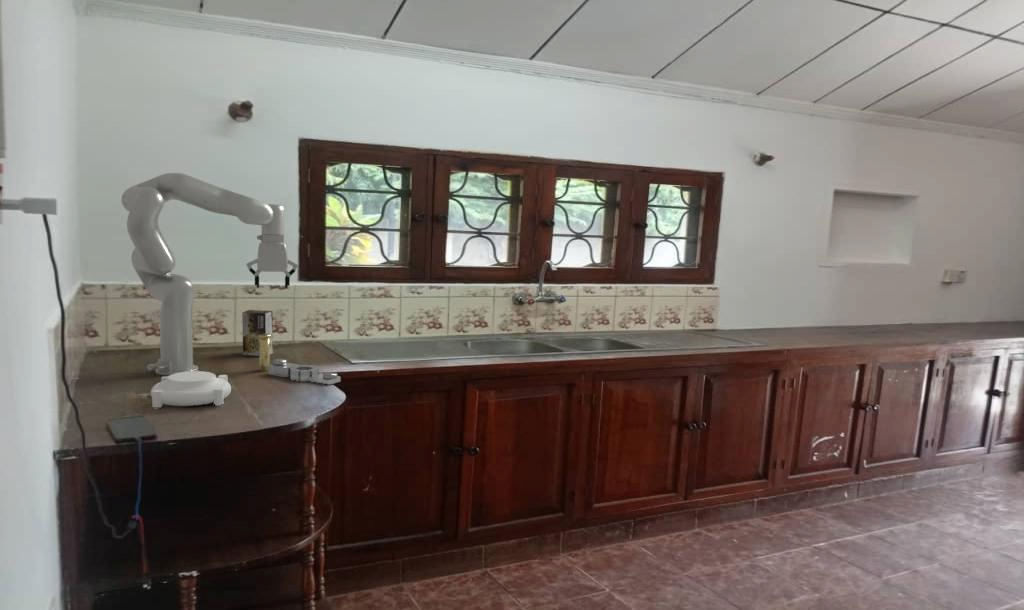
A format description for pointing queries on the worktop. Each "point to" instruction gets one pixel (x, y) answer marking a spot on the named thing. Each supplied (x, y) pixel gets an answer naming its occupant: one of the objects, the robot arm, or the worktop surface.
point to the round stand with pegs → (190, 389)
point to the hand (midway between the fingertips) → (272, 287)
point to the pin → (264, 351)
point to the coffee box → (256, 330)
